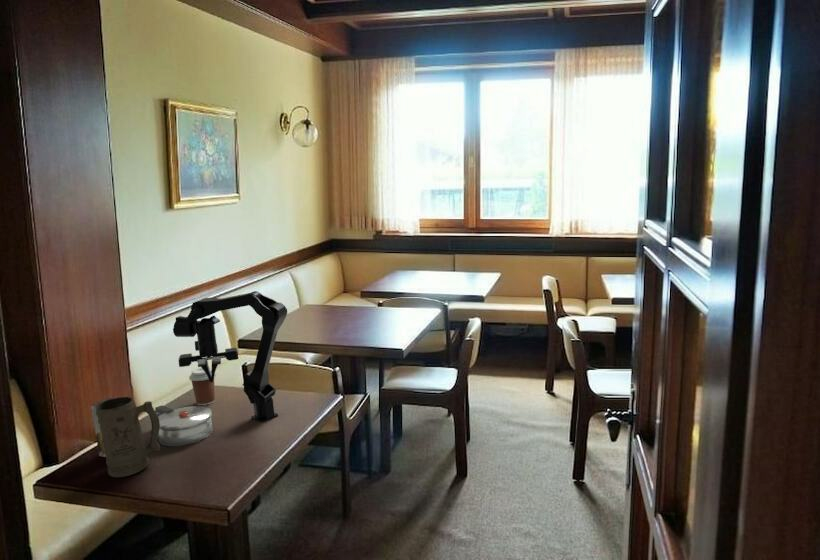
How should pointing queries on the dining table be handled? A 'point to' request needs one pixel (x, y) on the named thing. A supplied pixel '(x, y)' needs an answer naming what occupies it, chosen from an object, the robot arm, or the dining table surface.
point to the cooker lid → (182, 417)
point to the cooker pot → (185, 434)
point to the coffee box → (98, 428)
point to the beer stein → (126, 435)
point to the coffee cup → (202, 387)
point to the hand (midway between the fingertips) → (211, 381)
